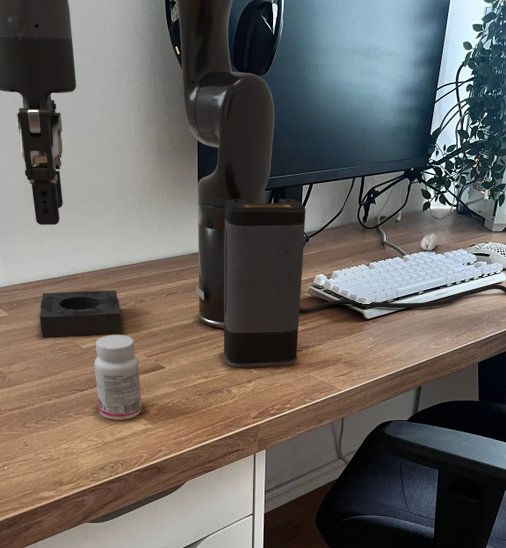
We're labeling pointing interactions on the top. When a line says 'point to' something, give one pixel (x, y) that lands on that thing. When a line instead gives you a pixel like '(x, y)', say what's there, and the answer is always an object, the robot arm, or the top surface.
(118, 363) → the pill bottle
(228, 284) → the electronic device
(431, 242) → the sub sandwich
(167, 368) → the top surface
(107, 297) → the socket plate
